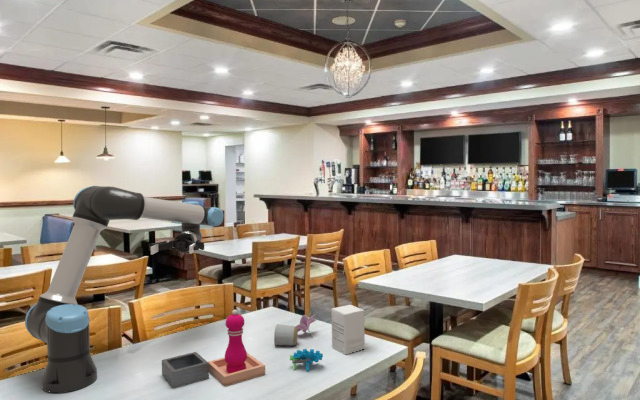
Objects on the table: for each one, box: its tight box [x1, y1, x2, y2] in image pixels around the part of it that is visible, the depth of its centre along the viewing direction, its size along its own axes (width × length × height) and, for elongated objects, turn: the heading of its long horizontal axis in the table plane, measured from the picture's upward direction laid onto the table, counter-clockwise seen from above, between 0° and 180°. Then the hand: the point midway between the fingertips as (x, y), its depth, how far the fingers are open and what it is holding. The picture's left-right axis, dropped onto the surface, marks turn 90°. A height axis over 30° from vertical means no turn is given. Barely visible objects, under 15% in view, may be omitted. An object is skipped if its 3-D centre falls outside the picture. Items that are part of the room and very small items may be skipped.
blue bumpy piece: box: [289, 348, 324, 372], centre depth 150 cm, size 11×6×10 cm
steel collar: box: [161, 351, 210, 389], centre depth 145 cm, size 11×11×5 cm
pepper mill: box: [224, 309, 248, 373], centre depth 147 cm, size 7×7×20 cm
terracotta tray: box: [207, 352, 266, 387], centre depth 148 cm, size 14×14×3 cm
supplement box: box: [331, 304, 366, 355], centre depth 166 cm, size 9×9×15 cm
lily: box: [295, 313, 317, 339], centre depth 180 cm, size 12×12×10 cm
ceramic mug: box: [273, 324, 299, 347], centre depth 173 cm, size 11×8×8 cm
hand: (171, 250), depth 161 cm, fingers open, 13 cm apart
